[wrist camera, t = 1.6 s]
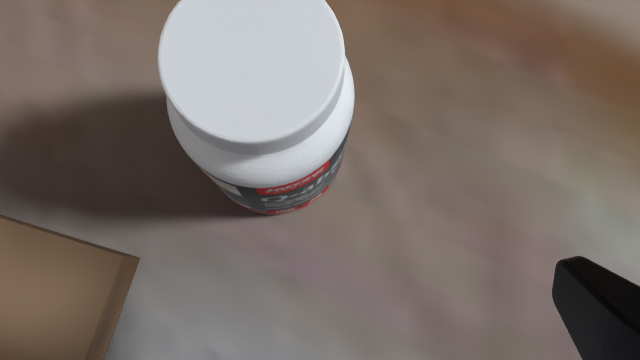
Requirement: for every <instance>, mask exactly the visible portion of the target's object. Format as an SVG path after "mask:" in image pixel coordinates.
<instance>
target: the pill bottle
mask: <svg viewBox="0 0 640 360" xmlns="http://www.w3.org/2000/svg"><path fill="white" fill-rule="evenodd" d="M157 58H158V70H159V76H160V81H161V84H162V86H163V89H164V92H165V94H166V100H167V110H168V115H169V119H170V123H171V126H172V129H173V131H174V133H175V136H176V138H177V139H178V141H179V143H180V144H181V146H182V147H183V149H184V150H185V152H186V153H187V154H188V156H189V157H190V158H191V159H192V160H193V161H194V162H195V163H196V165H197V166H198V167H199V168H200V169H201V170H202V171H203V172H204V173H205V174H206V175H207V176H208V177H209V178H210V179H211V180H212V181H213V182H214V183H215V184H216V185H217V186H218V187H219V188H220V189H221V191H222V192H223V193H224V194H225V195H226V196H227V197H229V198H230V199H231V200H232V201H234V202H235V203H237V204H238V205H240V206H242V207H244V208H246V209H248V210H251V211H254V212H258V213H263V214H285V213H290V212H294V211H297V210H300V209H302V208H304V207H306V206H308V205H310V204H311V203H313V202H314V201H316V200H317V199H318V198H319V197H321V196H322V195H323V194H324V193H325V191H326V190H327V189H328V188H329V187H330V185H331V184H332V182H333V181H334V179H335V177H336V175H337V173H338V170H339V168H340V165H341V161H342V158H343V153H344V149H345V145H346V141H347V137H348V133H349V129H350V125H351V121H352V116H353V111H354V84H353V78H352V73H351V70H350V66H349V64H348V61H347V59H346V57H345V48H344V41H343V36H342V32H341V29H340V26H339V23H338V21H337V19H336V17H335V15H334V13H333V11H332V10H331V8H330V7H329V6H328V4H327V3H326V2H325V0H180V1H179V2H178V3H177V5H176V6H175V7H174V9H173V10H172V12H171V13H170V15H169V17H168V18H167V20H166V22H165V25H164V27H163V29H162V33H161V36H160V40H159V45H158V54H157Z"/></svg>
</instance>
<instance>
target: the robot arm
mask: <svg viewBox="0 0 640 360" xmlns="http://www.w3.org/2000/svg"><path fill="white" fill-rule="evenodd" d="M552 297H553V301H554V304H555V306H556V308H557V310H558V312H559V314H560V316H561V318H562V320H563V322H564V324H565V326H566V328H567V330H568V332H569V334H570V336H571V338H572V340H573V342H574V344H575V346H576V348H577V350H578V352H579V354H580V356H581V358H582V360H640V286H638V285H636V284H634V283H632V282H630V281H628V280H627V279H625V278H623V277H621V276H619V275H617V274H615V273H613V272H611V271H609V270H608V269H606V268H604V267H602V266H600V265H598V264H596V263H594V262H592V261H590V260H589V259H587V258H585V257H581V256H575V257H571V258H567V259H563V260H560V261H558V263H557V264H556V268H555V274H554V281H553V288H552Z"/></svg>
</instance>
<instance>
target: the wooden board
mask: <svg viewBox="0 0 640 360" xmlns="http://www.w3.org/2000/svg"><path fill="white" fill-rule="evenodd" d="M139 260H140V258H138V257H135V256H132V255H129V254H125V253H122V252H119V251H116V250H112V249H109V248H106V247H103V246H99V245H96V244H93V243H90V242H86V241H83V240H80V239H77V238H73V237H70V236H67V235H64V234H60V233H57V232H54V231H51V230H47V229H44V228H41V227H38V226H35V225H31V224H28V223H25V222H22V221H18V220H15V219H12V218H9V217H5V216H2V215H0V360H103V359H104V357H105V354H106V351H107V348H108V346H109V343H110V340H111V337H112V334H113V332H114V329H115V326H116V323H117V321H118V318H119V315H120V312H121V309H122V307H123V304H124V301H125V298H126V296H127V293H128V290H129V287H130V285H131V282H132V279H133V276H134V273H135V271H136V268H137V265H138V262H139Z"/></svg>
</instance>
